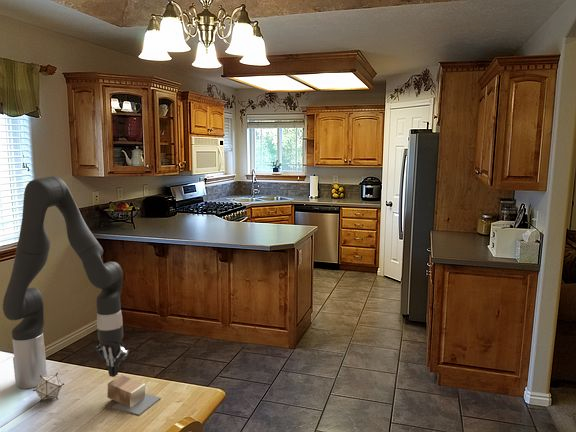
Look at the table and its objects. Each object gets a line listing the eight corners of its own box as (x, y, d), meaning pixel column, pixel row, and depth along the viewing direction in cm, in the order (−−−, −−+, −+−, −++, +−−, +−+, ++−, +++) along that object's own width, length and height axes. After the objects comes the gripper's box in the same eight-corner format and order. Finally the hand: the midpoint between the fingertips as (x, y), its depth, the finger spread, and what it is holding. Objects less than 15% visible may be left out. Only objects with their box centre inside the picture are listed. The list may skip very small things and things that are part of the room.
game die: (52, 411, 145) (47, 398, 138) (30, 400, 146) (23, 387, 139) (72, 387, 151) (67, 373, 144) (50, 376, 152) (45, 362, 145)
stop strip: (105, 408, 140) (105, 405, 140) (133, 389, 151) (132, 386, 151) (109, 409, 139) (109, 406, 139) (136, 390, 150) (136, 387, 150)
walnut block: (107, 383, 142) (131, 393, 138) (121, 374, 148) (145, 384, 144) (107, 397, 143) (131, 407, 139) (121, 388, 149) (144, 398, 145)
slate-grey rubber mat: (111, 407, 140) (111, 406, 140) (134, 391, 149) (134, 390, 149) (139, 415, 136) (139, 414, 136) (160, 398, 145) (160, 397, 145)
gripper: (85, 325, 142) (89, 376, 144) (117, 332, 136) (120, 385, 139) (103, 317, 148) (107, 366, 151) (134, 323, 143) (137, 374, 146)
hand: (113, 375), depth 145 cm, fingers closed
